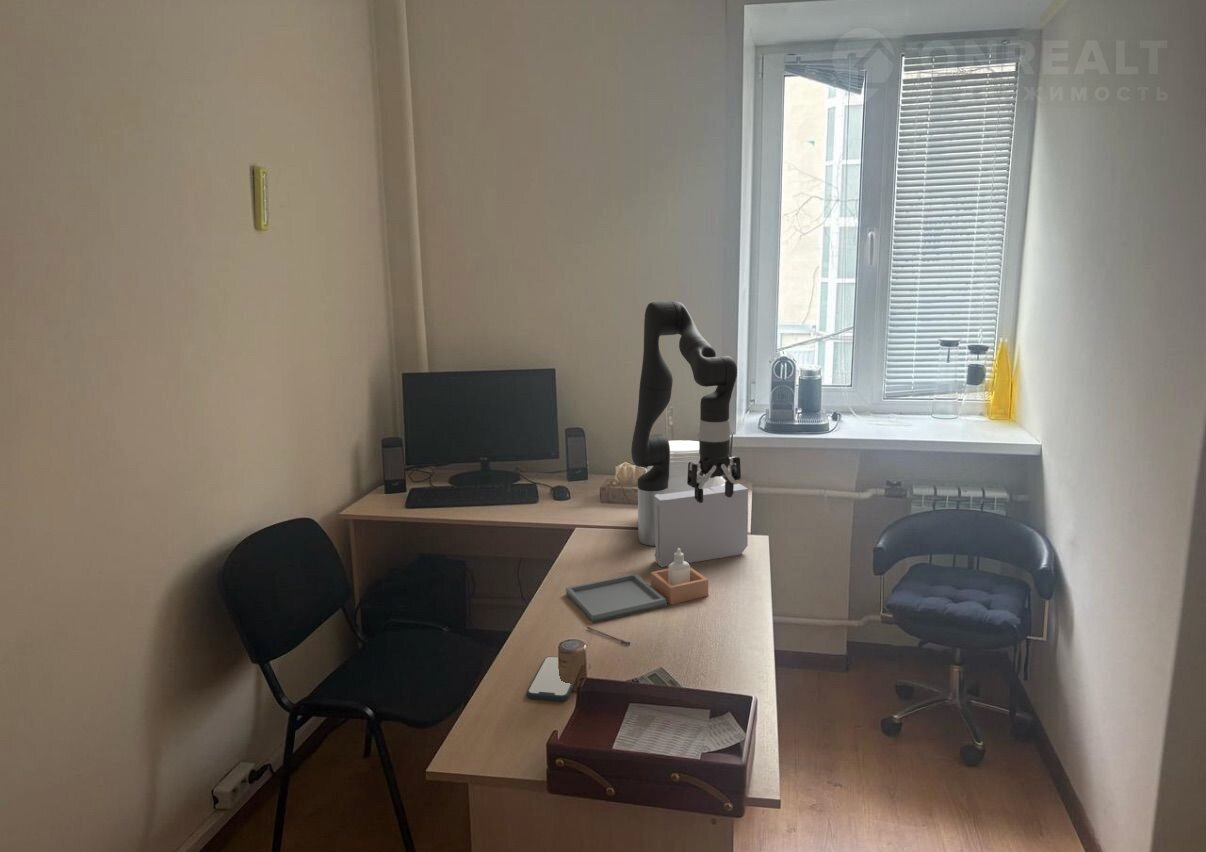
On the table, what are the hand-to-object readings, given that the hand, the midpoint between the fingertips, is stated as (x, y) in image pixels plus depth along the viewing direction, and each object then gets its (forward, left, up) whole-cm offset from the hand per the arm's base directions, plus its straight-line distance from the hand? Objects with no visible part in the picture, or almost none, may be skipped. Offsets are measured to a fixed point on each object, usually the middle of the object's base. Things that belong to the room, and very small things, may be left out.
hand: (714, 499), depth 200 cm
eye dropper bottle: (-5, -7, -26) cm, 27 cm away
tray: (-8, -24, -26) cm, 36 cm away
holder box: (-5, -7, -26) cm, 27 cm away
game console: (-23, +10, -26) cm, 36 cm away
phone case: (+21, -51, -27) cm, 61 cm away
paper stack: (-51, +22, -26) cm, 61 cm away
